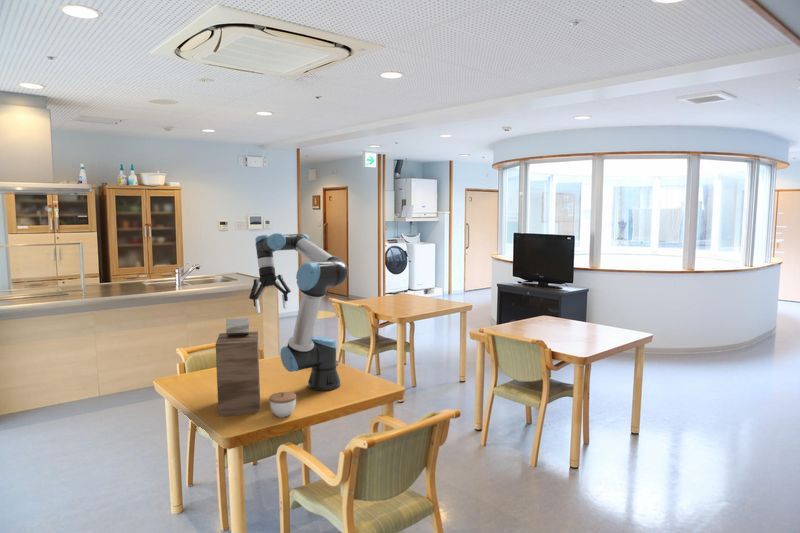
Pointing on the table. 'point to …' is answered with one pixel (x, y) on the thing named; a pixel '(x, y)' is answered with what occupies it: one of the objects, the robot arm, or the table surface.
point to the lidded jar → (282, 403)
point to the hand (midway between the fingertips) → (271, 310)
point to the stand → (238, 374)
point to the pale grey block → (237, 326)
